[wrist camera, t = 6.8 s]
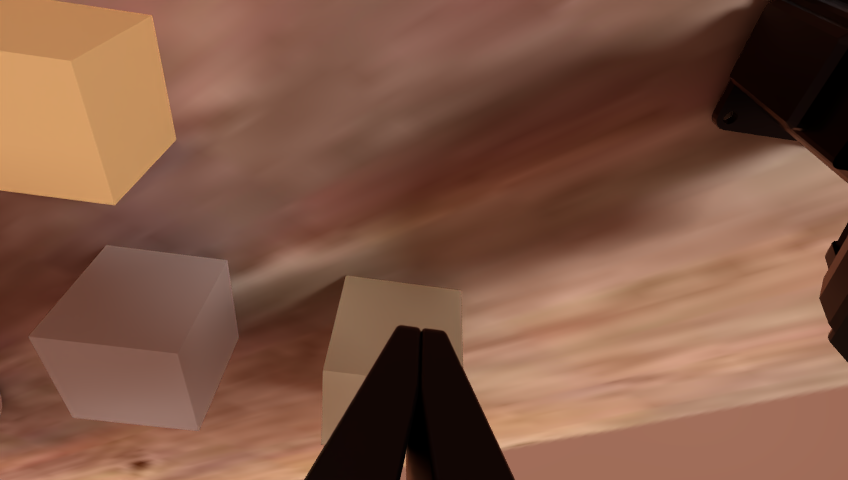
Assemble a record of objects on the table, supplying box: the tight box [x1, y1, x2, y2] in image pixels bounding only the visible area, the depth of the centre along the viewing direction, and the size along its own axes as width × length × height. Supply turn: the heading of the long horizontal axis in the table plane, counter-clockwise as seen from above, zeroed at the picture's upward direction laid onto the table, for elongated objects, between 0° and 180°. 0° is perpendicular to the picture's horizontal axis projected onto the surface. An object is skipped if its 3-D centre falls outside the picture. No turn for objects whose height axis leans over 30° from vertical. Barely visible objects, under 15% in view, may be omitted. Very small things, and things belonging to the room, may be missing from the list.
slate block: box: [28, 245, 239, 431], centre depth 25 cm, size 6×6×6 cm
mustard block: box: [0, 0, 176, 205], centre depth 17 cm, size 5×5×5 cm
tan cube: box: [321, 275, 463, 445], centre depth 25 cm, size 6×6×6 cm
